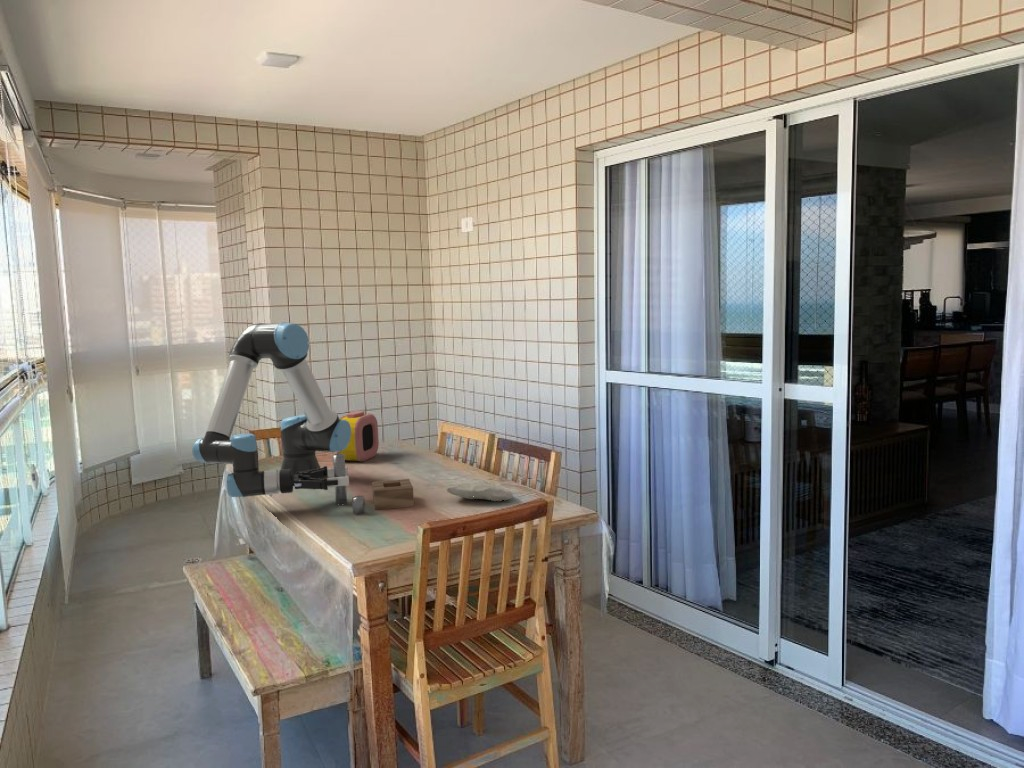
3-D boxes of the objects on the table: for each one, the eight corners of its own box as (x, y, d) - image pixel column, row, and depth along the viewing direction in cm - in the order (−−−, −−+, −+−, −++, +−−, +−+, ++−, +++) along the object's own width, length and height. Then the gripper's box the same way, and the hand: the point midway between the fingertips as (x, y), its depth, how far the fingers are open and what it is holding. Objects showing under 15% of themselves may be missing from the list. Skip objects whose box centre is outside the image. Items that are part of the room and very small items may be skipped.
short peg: (352, 512, 237) (352, 496, 237) (364, 511, 238) (363, 495, 238) (353, 515, 234) (352, 499, 233) (365, 514, 235) (364, 498, 234)
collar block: (372, 500, 251) (371, 482, 250) (409, 496, 254) (408, 478, 253) (375, 509, 239) (374, 490, 238) (413, 506, 242) (412, 487, 241)
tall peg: (335, 502, 249) (332, 454, 247) (347, 501, 250) (344, 453, 248) (335, 505, 245) (332, 456, 243) (347, 504, 246) (344, 455, 244)
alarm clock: (360, 464, 305) (357, 416, 302) (335, 463, 308) (332, 415, 306) (380, 454, 322) (378, 409, 320) (356, 454, 325) (354, 408, 323)
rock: (483, 492, 264) (429, 490, 254) (485, 475, 264) (432, 472, 254) (517, 508, 244) (460, 507, 234) (520, 489, 243) (463, 487, 233)
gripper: (282, 484, 255) (348, 478, 259) (277, 503, 231) (350, 497, 235) (281, 461, 254) (346, 456, 259) (276, 478, 230) (348, 472, 234)
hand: (348, 475), depth 247 cm, fingers open, 13 cm apart
